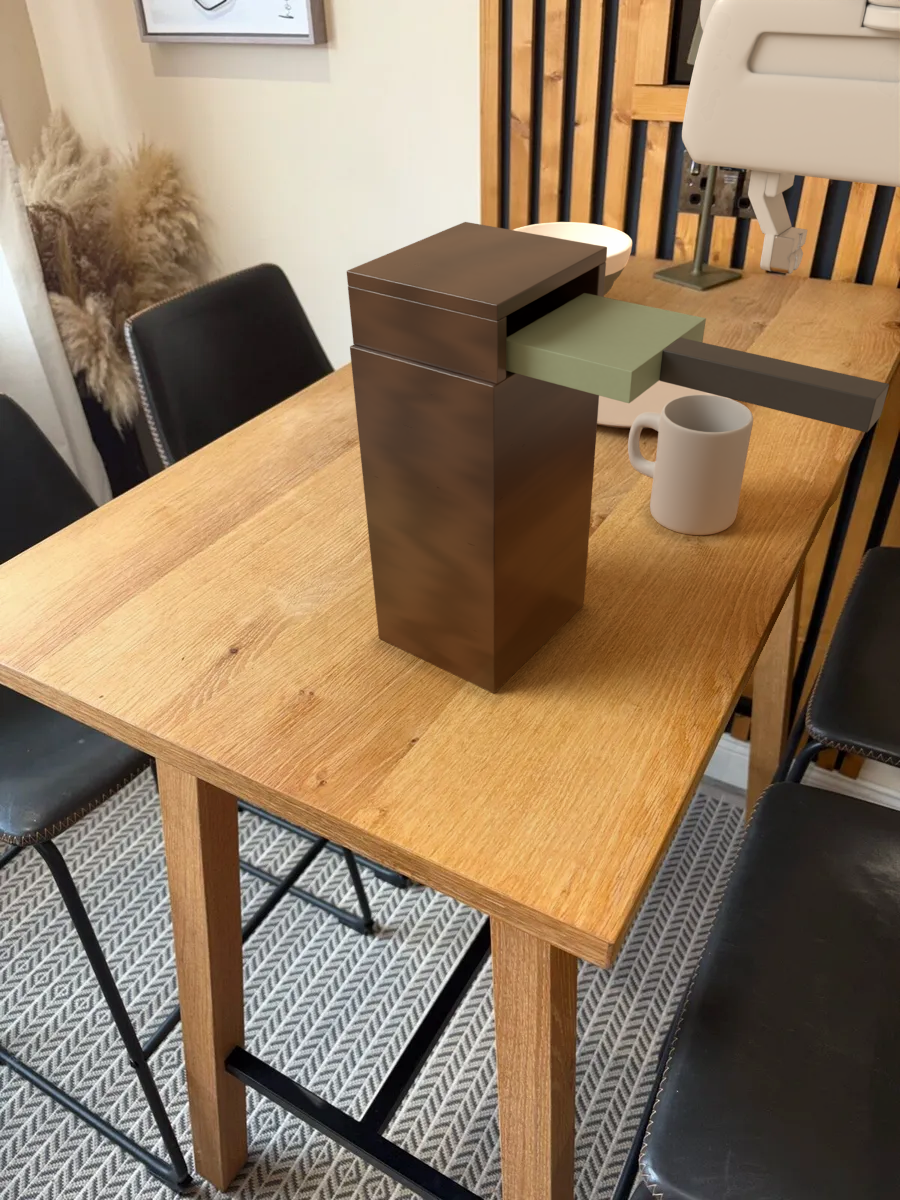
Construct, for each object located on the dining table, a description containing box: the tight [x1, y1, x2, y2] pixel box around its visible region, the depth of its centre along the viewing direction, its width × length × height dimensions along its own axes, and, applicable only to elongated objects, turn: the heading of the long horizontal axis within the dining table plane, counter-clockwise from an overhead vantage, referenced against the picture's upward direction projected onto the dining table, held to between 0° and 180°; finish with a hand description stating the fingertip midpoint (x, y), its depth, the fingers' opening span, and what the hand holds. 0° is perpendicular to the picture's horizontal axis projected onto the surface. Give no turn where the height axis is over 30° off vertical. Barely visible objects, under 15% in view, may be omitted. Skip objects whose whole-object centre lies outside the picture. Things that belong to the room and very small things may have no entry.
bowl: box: [513, 221, 633, 296], centre depth 138 cm, size 20×20×10 cm
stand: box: [346, 221, 607, 694], centre depth 71 cm, size 12×14×31 cm
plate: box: [597, 380, 730, 430], centre depth 115 cm, size 26×26×2 cm
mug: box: [627, 395, 754, 536], centre depth 91 cm, size 12×8×11 cm
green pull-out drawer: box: [506, 293, 890, 433], centre depth 56 cm, size 22×10×2 cm, turn 53°
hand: (877, 286), depth 43 cm, fingers open, 8 cm apart
